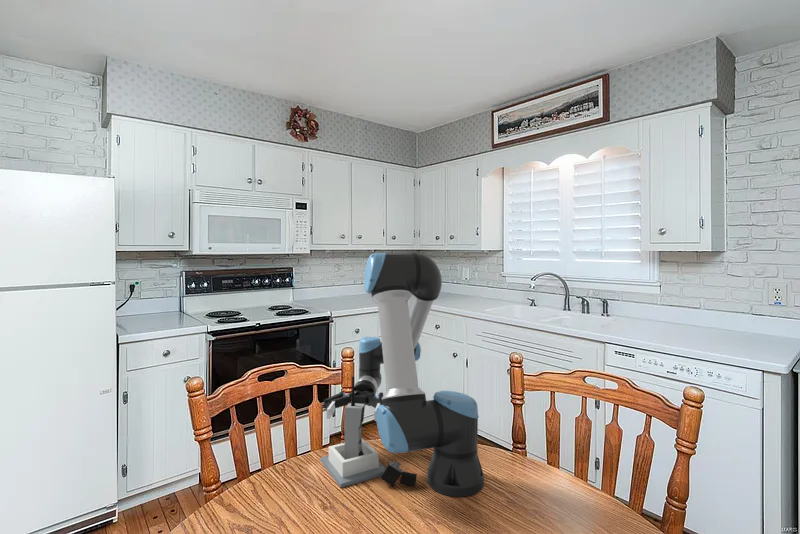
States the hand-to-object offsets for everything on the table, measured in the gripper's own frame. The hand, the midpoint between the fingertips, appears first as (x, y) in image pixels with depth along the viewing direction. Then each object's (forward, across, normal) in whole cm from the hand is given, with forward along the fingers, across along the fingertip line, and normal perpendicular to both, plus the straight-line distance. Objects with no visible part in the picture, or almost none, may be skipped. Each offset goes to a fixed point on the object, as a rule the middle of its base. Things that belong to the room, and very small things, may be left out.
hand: (351, 415), depth 114 cm
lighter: (+6, -14, -16) cm, 22 cm away
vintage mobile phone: (-2, -1, -15) cm, 15 cm away
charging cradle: (-2, 0, -16) cm, 16 cm away
